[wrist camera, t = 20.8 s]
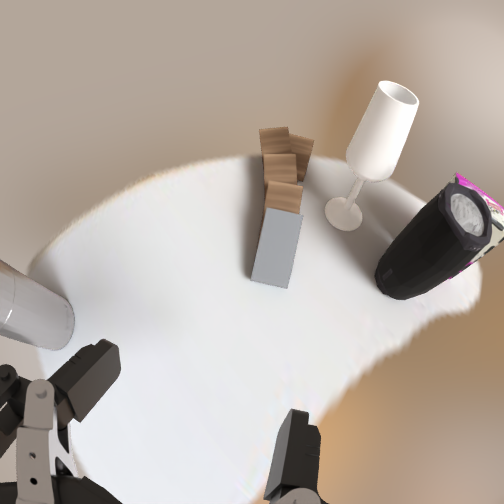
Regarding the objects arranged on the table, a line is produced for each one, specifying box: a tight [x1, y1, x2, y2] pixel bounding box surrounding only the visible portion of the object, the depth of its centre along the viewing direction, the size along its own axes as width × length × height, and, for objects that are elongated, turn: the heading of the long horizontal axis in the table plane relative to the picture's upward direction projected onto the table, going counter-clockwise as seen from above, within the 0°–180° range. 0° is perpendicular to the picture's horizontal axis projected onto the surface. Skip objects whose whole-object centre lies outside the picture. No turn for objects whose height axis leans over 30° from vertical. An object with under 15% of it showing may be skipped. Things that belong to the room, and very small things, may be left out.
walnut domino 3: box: [257, 181, 303, 249], centre depth 40 cm, size 2×5×10 cm
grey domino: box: [250, 207, 303, 289], centre depth 38 cm, size 2×5×10 cm
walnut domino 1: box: [259, 127, 292, 168], centre depth 45 cm, size 2×5×10 cm
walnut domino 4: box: [289, 134, 314, 182], centre depth 48 cm, size 2×5×10 cm
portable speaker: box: [375, 182, 492, 300], centre depth 30 cm, size 9×9×20 cm
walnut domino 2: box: [264, 154, 297, 200], centre depth 42 cm, size 2×5×10 cm
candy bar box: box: [444, 172, 504, 279], centre depth 33 cm, size 11×5×16 cm, turn 60°
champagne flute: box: [325, 81, 419, 231], centre depth 33 cm, size 7×7×24 cm
